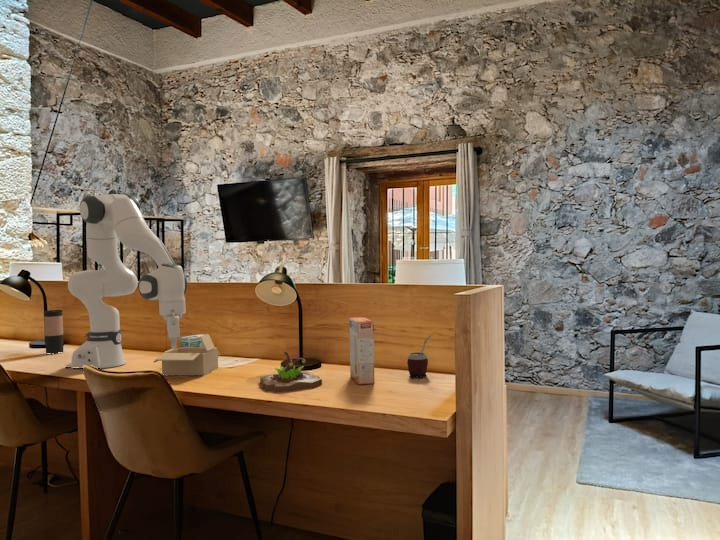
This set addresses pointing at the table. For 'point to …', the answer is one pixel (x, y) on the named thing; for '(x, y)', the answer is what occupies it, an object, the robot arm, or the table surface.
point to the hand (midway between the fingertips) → (173, 348)
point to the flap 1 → (177, 357)
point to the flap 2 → (207, 342)
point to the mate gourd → (418, 363)
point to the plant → (290, 378)
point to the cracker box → (362, 350)
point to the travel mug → (53, 331)
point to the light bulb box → (191, 341)
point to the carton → (192, 362)
